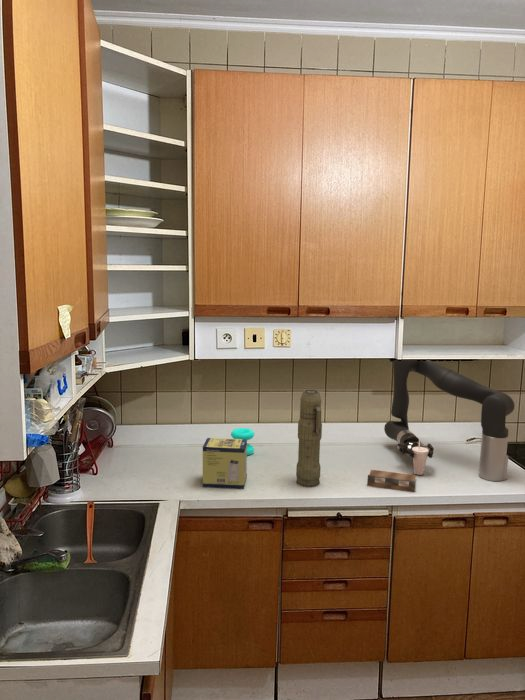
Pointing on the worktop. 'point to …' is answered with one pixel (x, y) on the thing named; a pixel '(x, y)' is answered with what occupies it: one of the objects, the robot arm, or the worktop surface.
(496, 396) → the robot arm
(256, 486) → the worktop surface
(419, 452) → the smoothie
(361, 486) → the worktop surface
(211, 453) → the protein box
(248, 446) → the donuts
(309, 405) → the thermos
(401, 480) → the shelf board
